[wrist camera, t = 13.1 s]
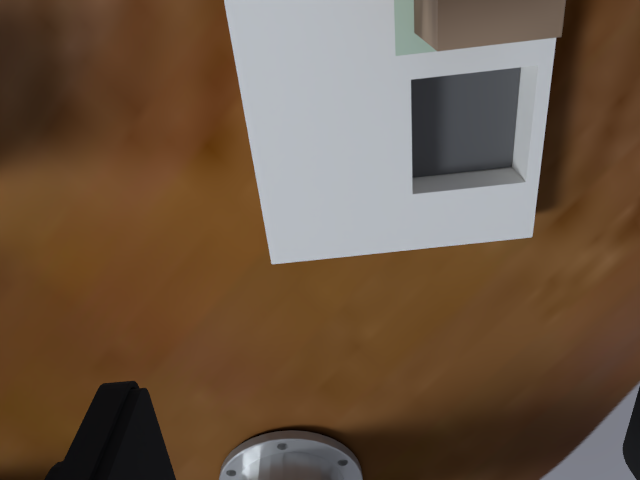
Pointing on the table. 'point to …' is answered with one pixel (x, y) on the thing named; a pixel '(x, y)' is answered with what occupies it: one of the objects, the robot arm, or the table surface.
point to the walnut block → (486, 22)
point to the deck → (385, 129)
